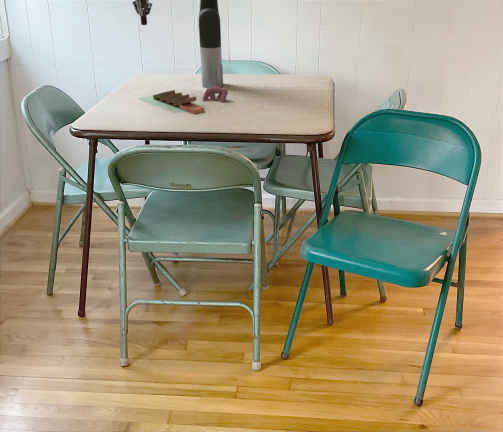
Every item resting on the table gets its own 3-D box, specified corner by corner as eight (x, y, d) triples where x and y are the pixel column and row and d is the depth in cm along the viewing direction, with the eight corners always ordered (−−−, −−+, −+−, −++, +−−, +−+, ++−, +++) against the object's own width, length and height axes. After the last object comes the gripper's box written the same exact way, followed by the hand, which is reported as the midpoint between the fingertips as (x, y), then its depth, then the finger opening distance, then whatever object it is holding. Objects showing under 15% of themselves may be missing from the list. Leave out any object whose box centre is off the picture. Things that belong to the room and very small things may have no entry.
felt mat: (136, 99, 266) (136, 98, 266) (165, 93, 274) (165, 92, 274) (175, 113, 245) (175, 112, 245) (205, 106, 253) (205, 106, 252)
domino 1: (152, 95, 264) (164, 92, 256) (163, 93, 267) (174, 89, 258) (153, 99, 264) (165, 96, 256) (163, 97, 267) (175, 93, 259)
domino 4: (172, 102, 253) (185, 98, 245) (183, 100, 256) (195, 96, 247) (173, 106, 253) (186, 102, 245) (184, 104, 256) (196, 100, 248)
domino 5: (179, 104, 249) (193, 109, 242) (189, 102, 252) (204, 107, 245) (179, 108, 250) (193, 113, 243) (190, 106, 253) (204, 111, 246)
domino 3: (166, 100, 256) (178, 96, 248) (176, 97, 259) (188, 94, 251) (167, 104, 257) (179, 100, 249) (177, 101, 259) (189, 98, 251)
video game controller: (227, 104, 261) (230, 88, 261) (222, 102, 256) (225, 85, 256) (206, 102, 264) (208, 86, 264) (201, 100, 260) (203, 83, 260)
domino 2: (159, 97, 260) (170, 94, 252) (169, 95, 263) (181, 92, 255) (160, 101, 260) (171, 98, 252) (170, 99, 263) (182, 96, 255)
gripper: (156, -18, 264) (159, 25, 272) (140, -20, 274) (144, 22, 281) (140, -16, 260) (144, 27, 267) (124, -18, 269) (129, 24, 277)
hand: (144, 24), depth 274 cm, fingers closed
